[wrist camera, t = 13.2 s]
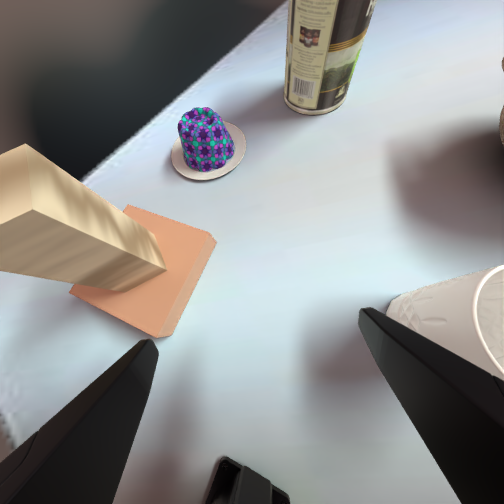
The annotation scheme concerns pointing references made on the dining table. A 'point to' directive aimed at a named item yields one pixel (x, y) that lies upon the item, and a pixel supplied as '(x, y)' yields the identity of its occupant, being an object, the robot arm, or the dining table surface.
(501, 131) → the cooking pot
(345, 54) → the coffee can
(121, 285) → the maple block
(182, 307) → the terracotta base
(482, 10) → the dining table surface
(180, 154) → the pudding
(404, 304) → the white cup
